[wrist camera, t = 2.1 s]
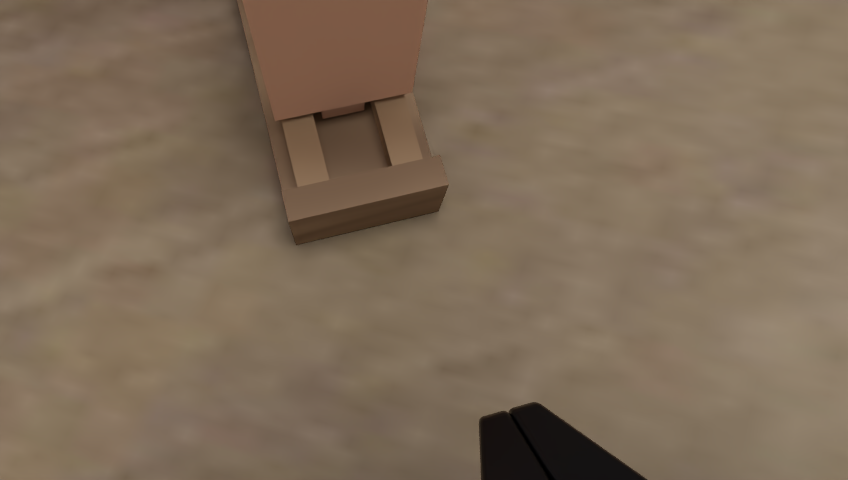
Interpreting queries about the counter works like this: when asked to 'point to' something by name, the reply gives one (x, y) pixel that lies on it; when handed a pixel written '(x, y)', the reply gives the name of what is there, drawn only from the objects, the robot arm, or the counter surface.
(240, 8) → the wooden tray
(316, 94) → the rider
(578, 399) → the counter surface
